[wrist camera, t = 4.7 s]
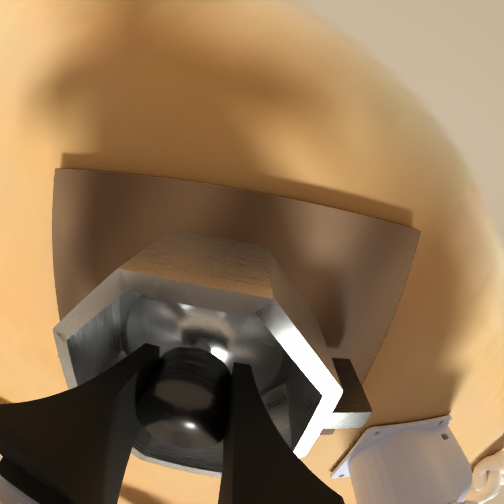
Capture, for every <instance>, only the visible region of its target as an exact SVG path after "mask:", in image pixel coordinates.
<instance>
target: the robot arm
mask: <svg viewBox="0 0 504 504" xmlns="http://www.w3.org/2000/svg"><path fill="white" fill-rule="evenodd" d="M159 359H160V346H156V345H152V344H148V343H144V344H143V345H141V346H140V347H139V348H137V349H136V350H135V351H133V352H132V353H131V354H129V355H128V356H127V357H125V358H124V359H122V360H121V361H120V362H118V363H117V364H115V365H114V366H112V367H111V368H109V369H108V370H106V371H104V372H103V373H101V374H99V375H98V376H96V377H94V378H93V379H91V380H89V381H87V382H85V383H83V384H81V385H79V386H77V387H75V388H72V389H70V390H67V391H64V392H61V393H58V394H56V395H53V396H49V397H46V398H42V399H38V400H33V401H28V402H21V403H11V404H0V454H1V455H2V456H3V458H2V459H1V461H0V504H117V501H118V497H119V493H120V488H121V484H122V480H123V477H124V473H125V469H126V466H127V463H128V459H129V456H130V453H131V450H132V447H133V445H134V442H135V440H136V438H137V436H138V434H139V432H140V430H141V428H142V425H141V424H140V422H139V421H138V418H137V416H136V407H137V404H138V402H139V400H140V398H141V396H142V394H143V392H144V390H145V387H146V385H147V383H148V381H149V379H150V377H151V375H152V373H153V371H154V369H155V367H156V365H157V363H158V361H159ZM451 419H452V417H451V416H450V415H447V416H442V417H438V418H433V419H427V420H422V421H416V422H409V423H402V424H395V425H386V426H375V427H370V428H368V429H366V430H365V432H364V433H363V434H362V436H361V437H360V439H359V440H358V441H357V442H356V444H355V445H354V446H353V448H352V449H351V450H350V451H349V453H348V454H347V455H346V456H345V458H344V459H343V460H342V461H341V463H340V464H339V465H338V466H337V467H336V468H335V470H334V471H333V472H332V473H331V474H330V475H331V478H342V477H350V478H351V482H352V486H353V490H354V495H355V499H356V503H357V504H478V503H477V502H476V501H469V500H465V501H464V502H461V501H462V500H463V499H464V498H465V497H466V495H467V494H468V492H469V490H470V488H471V484H472V469H471V466H470V463H469V462H468V460H467V458H466V456H465V454H464V453H463V451H462V449H461V447H460V445H459V444H458V442H457V440H456V439H455V437H454V435H453V433H452V432H451V430H450V428H449V427H448V423H449V422H450V421H451ZM218 504H345V503H344V500H343V498H342V496H340V495H339V494H337V493H336V492H335V491H333V490H332V489H331V488H329V487H328V486H327V485H326V484H325V483H323V482H322V481H321V480H320V479H319V478H318V477H317V476H316V475H315V474H313V473H312V472H311V471H310V470H309V469H308V468H307V466H306V465H305V464H304V463H303V462H302V461H301V460H300V459H299V458H298V457H297V455H296V454H295V453H294V452H293V451H292V449H291V448H290V447H289V445H288V444H287V443H286V441H285V440H284V438H283V437H282V436H281V434H280V433H279V431H278V429H277V428H276V426H275V424H274V423H273V421H272V419H271V417H270V415H269V413H268V411H267V409H266V407H265V405H264V403H263V400H262V398H261V396H260V393H259V391H258V388H257V385H256V382H255V379H254V376H253V372H252V367H251V366H250V365H249V364H243V363H236V362H234V364H233V369H232V374H231V382H230V390H229V406H228V415H227V423H226V431H225V436H224V438H223V468H222V477H221V485H220V492H219V500H218Z"/></svg>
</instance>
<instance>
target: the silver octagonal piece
mask: <svg viewBox="0 0 504 504" xmlns="http://www.w3.org/2000/svg"><path fill="white" fill-rule="evenodd" d="M141 295H145V296H149V297H153V298H158V299H162V300H167V301H171V302H176V303H180V304H185V305H190V306H195V307H200V308H205V309H210V310H215V311H220V312H226V313H231V314H237V315H243V316H248V317H255V318H260V319H261V321H262V322H263V323H264V324H265V326H266V327H267V328H268V329H269V331H270V332H271V333H272V334H273V336H274V337H275V338H276V339H277V341H278V342H279V343H280V344H281V346H282V347H283V359H282V363H281V367H280V369H279V372H278V374H277V375H276V377H275V378H274V380H273V381H272V382H271V383H270V385H269V386H268V387H266V388H265V389H264V390H263V391H262V392H260V396H261V398H262V400H263V403H264V405H265V407H266V409H267V411H268V413H269V415H270V417H271V419H272V421H273V423H274V424H275V426H276V428H277V429H278V431H279V433H280V434H281V436H282V437H283V438H284V440H285V441H286V443H287V444H288V445H289V447H290V448H291V449H292V451H293V452H294V453H295V454H296V455H297V457H298V458H301V457H304V456H306V454H307V453H308V451H309V450H310V448H311V446H312V445H313V443H314V442H315V440H316V438H317V437H318V435H319V434H320V432H321V430H322V429H342V428H362V427H363V425H364V424H365V423H366V421H367V420H368V418H369V417H370V415H371V414H372V409H371V407H370V404H369V402H368V400H367V397H366V395H365V393H364V390H363V388H362V386H361V383H360V381H359V379H358V376H357V374H356V372H355V370H354V367H353V365H352V363H351V361H350V359H344V358H331V356H330V353H329V350H328V347H327V345H326V342H325V339H324V337H323V334H322V331H321V329H320V326H319V323H318V321H317V318H316V316H315V314H314V313H313V311H312V310H311V309H310V307H309V306H308V304H307V303H306V301H305V300H304V298H303V297H302V295H301V294H300V292H299V291H298V289H297V288H296V287H295V285H294V284H293V282H292V281H291V279H290V278H289V276H288V275H287V273H286V272H285V271H284V269H283V268H282V266H281V265H280V263H279V262H278V260H277V259H276V258H275V256H274V255H273V253H272V252H271V250H270V249H269V248H267V246H262V245H256V244H251V243H245V242H240V241H234V240H228V239H223V238H217V237H212V236H206V235H200V234H195V233H189V232H183V231H177V230H172V231H170V232H169V233H167V234H166V235H164V236H163V237H161V238H160V239H158V240H157V241H155V242H154V243H153V244H151V245H150V246H148V247H147V248H145V249H144V250H143V251H141V252H140V253H138V254H137V255H136V256H134V257H133V258H131V259H130V260H129V261H127V262H126V263H124V264H123V265H122V266H120V267H119V268H118V269H116V270H115V271H114V272H113V273H112V274H111V275H110V276H108V277H107V278H106V279H105V280H104V281H103V282H102V283H101V284H99V285H98V286H97V287H96V288H95V289H94V290H93V291H92V292H91V293H90V294H88V295H87V296H86V297H85V298H84V299H83V300H82V301H81V302H80V303H79V304H78V305H77V306H76V307H75V308H74V309H72V310H71V311H70V312H69V313H68V314H67V315H66V316H65V317H64V318H63V319H62V320H61V321H60V322H59V323H58V324H57V325H56V326H55V327H54V328H53V333H54V338H55V342H56V346H57V351H58V355H59V358H60V362H61V366H62V369H63V373H64V376H65V380H66V383H67V386H68V389H69V390H70V389H72V388H75V387H77V386H79V385H81V384H83V383H85V382H87V381H89V380H91V379H93V378H94V377H96V376H98V375H99V374H101V373H103V372H104V371H106V370H108V369H109V368H111V367H112V366H114V365H115V364H117V363H118V362H120V361H121V360H122V359H124V358H125V357H127V356H128V355H129V354H131V352H130V349H129V346H128V342H127V335H126V328H127V320H128V316H129V313H130V311H131V309H132V307H133V305H134V303H135V302H136V301H137V299H138V298H139V297H140V296H141ZM131 453H132V454H134V455H135V456H136V457H138V458H139V459H141V460H144V461H147V462H151V463H154V464H158V465H161V466H165V467H169V468H173V469H177V470H181V471H186V472H191V473H196V474H201V475H207V476H213V477H219V478H221V477H222V468H223V440H222V441H221V442H220V443H218V444H217V445H215V446H212V447H209V448H205V449H187V448H181V447H177V446H173V445H170V444H168V443H165V442H163V441H161V440H159V439H157V438H156V437H154V436H153V435H151V434H150V433H149V432H148V431H146V430H145V429H144V428H143V426H142V428H141V430H140V432H139V434H138V436H137V438H136V440H135V442H134V445H133V447H132V450H131Z"/></svg>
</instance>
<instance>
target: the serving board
mask: <svg viewBox="0 0 504 504" xmlns="http://www.w3.org/2000/svg"><path fill="white" fill-rule="evenodd" d="M172 230H177V231H183V232H189V233H195V234H200V235H206V236H212V237H217V238H223V239H228V240H234V241H240V242H245V243H251V244H256V245H262V246H267V248H269V249H270V250H271V252H272V253H273V255H274V256H275V258H276V259H277V260H278V262H279V263H280V265H281V266H282V268H283V269H284V271H285V272H286V273H287V275H288V276H289V278H290V279H291V281H292V282H293V284H294V285H295V287H296V288H297V289H298V291H299V292H300V294H301V295H302V297H303V298H304V300H305V301H306V303H307V304H308V306H309V307H310V309H311V310H312V311H313V313H314V314H315V316H316V318H317V321H318V323H319V326H320V329H321V331H322V334H323V337H324V339H325V342H326V345H327V347H328V350H329V353H330V356H331V358H344V359H350V361H351V363H352V365H353V367H354V370H355V372H356V374H357V376H358V379H359V381H360V383H361V385H362V383H363V381H364V379H365V377H366V375H367V373H368V371H369V369H370V367H371V365H372V363H373V361H374V359H375V357H376V355H377V353H378V350H379V348H380V346H381V344H382V342H383V339H384V337H385V335H386V332H387V330H388V328H389V325H390V323H391V320H392V318H393V315H394V313H395V310H396V308H397V305H398V302H399V300H400V297H401V294H402V291H403V289H404V286H405V283H406V280H407V277H408V274H409V271H410V267H411V264H412V261H413V258H414V254H415V251H416V247H417V244H418V240H419V236H420V232H421V231H419V230H417V229H415V228H412V227H408V226H405V225H401V224H398V223H394V222H390V221H387V220H383V219H379V218H375V217H371V216H367V215H363V214H359V213H355V212H351V211H347V210H343V209H339V208H334V207H330V206H326V205H321V204H317V203H312V202H307V201H303V200H298V199H293V198H288V197H283V196H278V195H273V194H268V193H262V192H257V191H251V190H246V189H240V188H234V187H228V186H222V185H216V184H209V183H203V182H196V181H189V180H181V179H174V178H166V177H158V176H150V175H141V174H131V173H121V172H110V171H98V170H85V169H69V168H58V169H55V176H54V188H53V208H52V245H53V265H54V278H55V288H56V296H57V304H58V311H59V317H60V321H61V320H62V319H63V318H64V317H65V316H66V315H67V314H68V313H69V312H70V311H71V310H72V309H74V308H75V307H76V306H77V305H78V304H79V303H80V302H81V301H82V300H83V299H84V298H85V297H86V296H87V295H88V294H90V293H91V292H92V291H93V290H94V289H95V288H96V287H97V286H98V285H99V284H101V283H102V282H103V281H104V280H105V279H106V278H107V277H108V276H110V275H111V274H112V273H113V272H114V271H115V270H116V269H118V268H119V267H120V266H122V265H123V264H124V263H126V262H127V261H129V260H130V259H131V258H133V257H134V256H136V255H137V254H138V253H140V252H141V251H143V250H144V249H145V248H147V247H148V246H150V245H151V244H153V243H154V242H155V241H157V240H158V239H160V238H161V237H163V236H164V235H166V234H167V233H169V232H170V231H172ZM334 431H335V429H322V430H321V432H320V434H319V435H329V434H333V432H334Z"/></svg>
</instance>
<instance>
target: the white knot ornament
mask: <svg viewBox="0 0 504 504" xmlns="http://www.w3.org/2000/svg"><path fill="white" fill-rule="evenodd" d="M502 485H504V451H501V450H500V451H497V452H496V453H495V454H494V455H491V456H488V457H485V458H483V459H481V460H480V461H479V462H478V463H477V464H476V466H475V468H474V470H473V472H472V484H471V488H470V490H469V492H468V494H467V495H466V497H465V498H464V499H463V500H462V501H463V502H464V501H465V500H469V501H476V502H477V503H478V504H483V503H484V502H485V501H487V500H489V499H491V498H493V497H494V496H496V495H497V494H498V492H499V491H500V489H501V487H502ZM474 486H475V488H474ZM475 489H476V490H475Z"/></svg>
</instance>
